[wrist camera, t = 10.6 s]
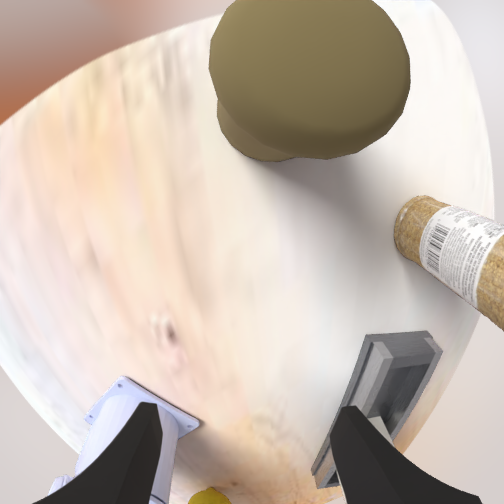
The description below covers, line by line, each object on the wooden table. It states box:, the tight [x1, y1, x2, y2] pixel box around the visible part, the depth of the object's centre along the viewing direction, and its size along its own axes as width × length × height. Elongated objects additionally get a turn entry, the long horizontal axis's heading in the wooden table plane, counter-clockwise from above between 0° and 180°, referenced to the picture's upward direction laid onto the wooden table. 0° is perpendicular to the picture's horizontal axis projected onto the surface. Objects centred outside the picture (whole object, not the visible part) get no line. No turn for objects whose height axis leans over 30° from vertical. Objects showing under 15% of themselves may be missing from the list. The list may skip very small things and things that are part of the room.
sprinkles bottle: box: [394, 196, 504, 331], centre depth 11 cm, size 5×5×13 cm
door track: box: [311, 331, 443, 489], centre depth 22 cm, size 20×6×3 cm, turn 175°
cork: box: [209, 0, 411, 162], centre depth 10 cm, size 6×6×11 cm
